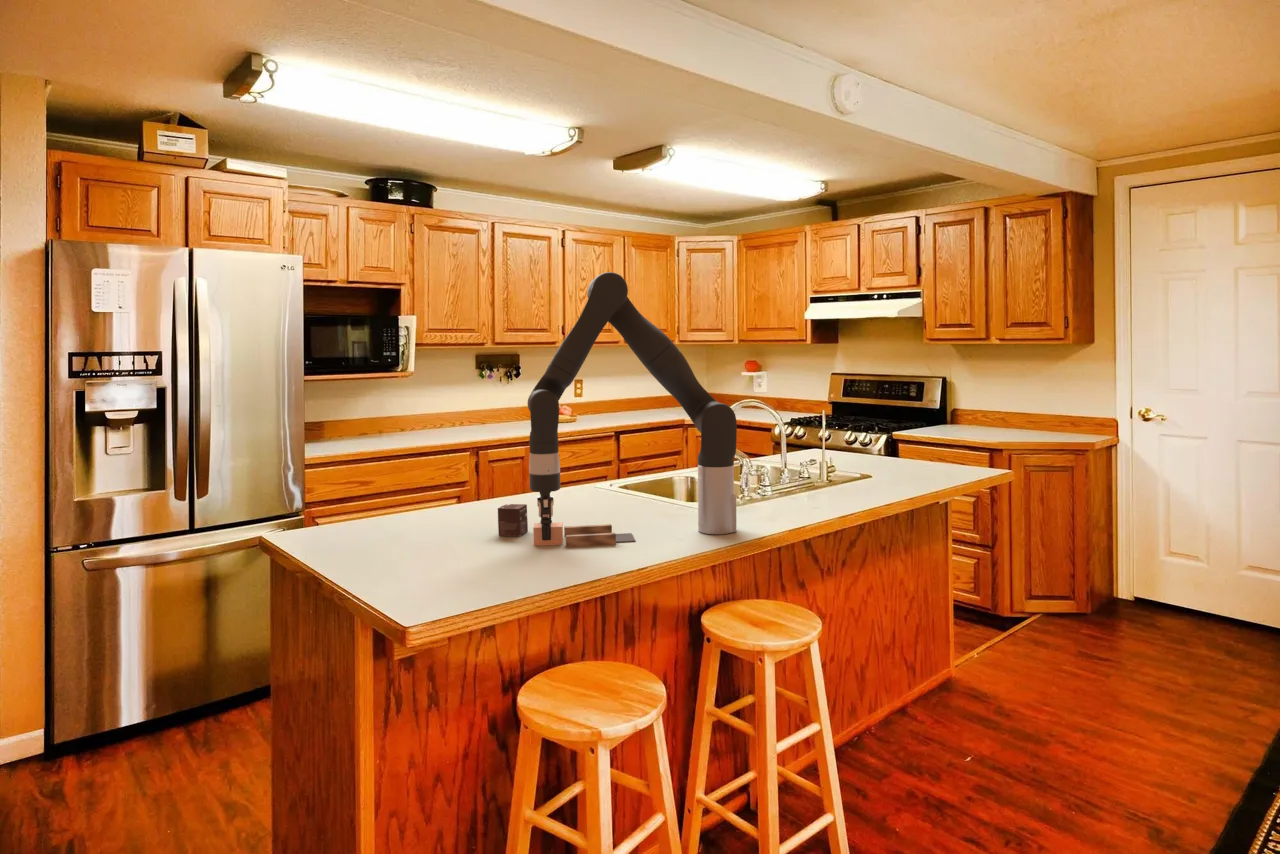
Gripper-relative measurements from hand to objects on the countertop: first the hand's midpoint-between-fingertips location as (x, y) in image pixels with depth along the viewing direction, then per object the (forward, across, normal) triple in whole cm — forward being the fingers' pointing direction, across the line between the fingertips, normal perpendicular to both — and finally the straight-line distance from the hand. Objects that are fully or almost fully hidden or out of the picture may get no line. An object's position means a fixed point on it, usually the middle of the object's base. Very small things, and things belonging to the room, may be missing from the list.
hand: (546, 536), depth 186 cm
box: (+2, +11, +8) cm, 14 cm away
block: (+2, 0, 0) cm, 2 cm away
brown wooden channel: (+1, 0, -11) cm, 11 cm away
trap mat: (+1, 0, -19) cm, 19 cm away
